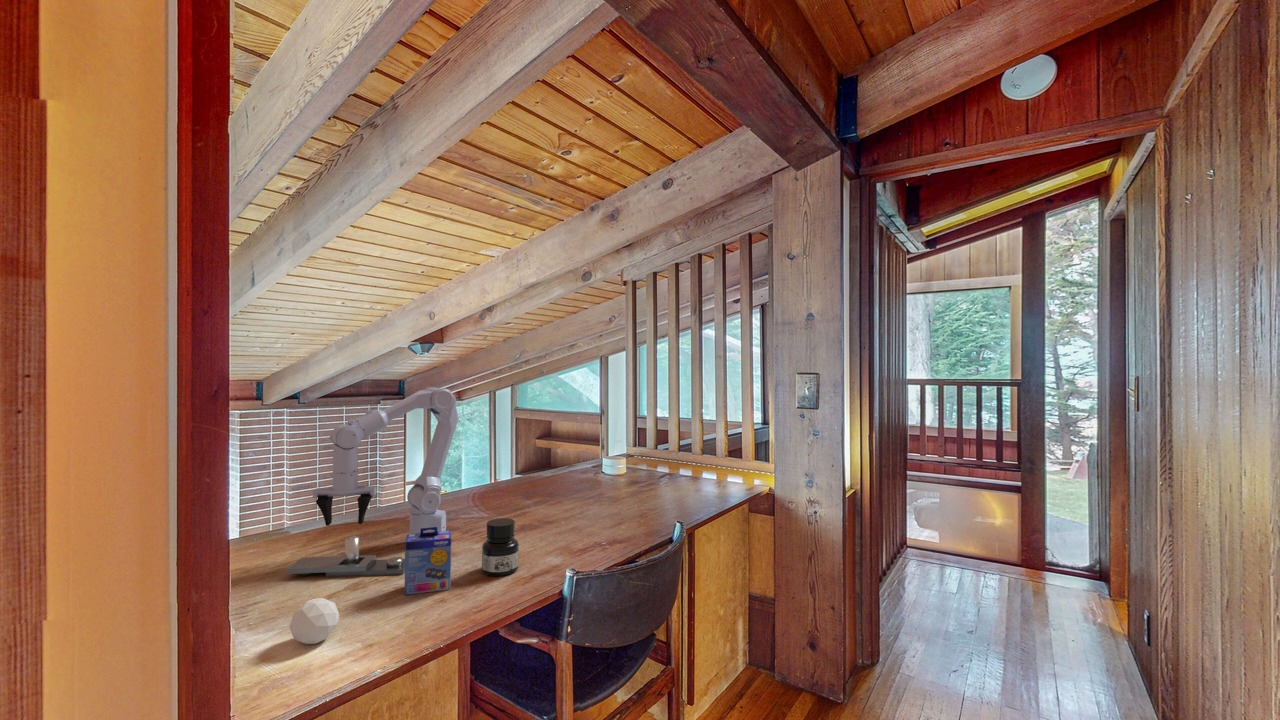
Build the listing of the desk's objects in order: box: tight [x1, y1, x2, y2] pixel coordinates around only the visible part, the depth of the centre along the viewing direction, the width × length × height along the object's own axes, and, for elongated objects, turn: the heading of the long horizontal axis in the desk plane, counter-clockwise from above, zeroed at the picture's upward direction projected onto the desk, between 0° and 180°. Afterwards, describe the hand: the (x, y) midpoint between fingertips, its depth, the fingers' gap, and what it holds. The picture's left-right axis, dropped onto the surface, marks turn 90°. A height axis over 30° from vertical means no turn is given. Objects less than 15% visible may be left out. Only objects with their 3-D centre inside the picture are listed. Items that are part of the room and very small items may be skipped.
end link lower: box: [325, 556, 405, 578], centre depth 132 cm, size 18×7×2 cm, turn 98°
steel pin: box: [344, 535, 360, 565], centre depth 131 cm, size 3×3×8 cm
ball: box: [288, 597, 340, 645], centre depth 99 cm, size 8×8×8 cm
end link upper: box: [287, 554, 377, 576], centre depth 130 cm, size 18×7×2 cm, turn 98°
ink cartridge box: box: [404, 527, 452, 596], centre depth 122 cm, size 10×6×14 cm, turn 111°
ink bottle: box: [481, 517, 520, 577], centre depth 133 cm, size 10×9×12 cm
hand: (344, 523), depth 138 cm, fingers open, 7 cm apart
